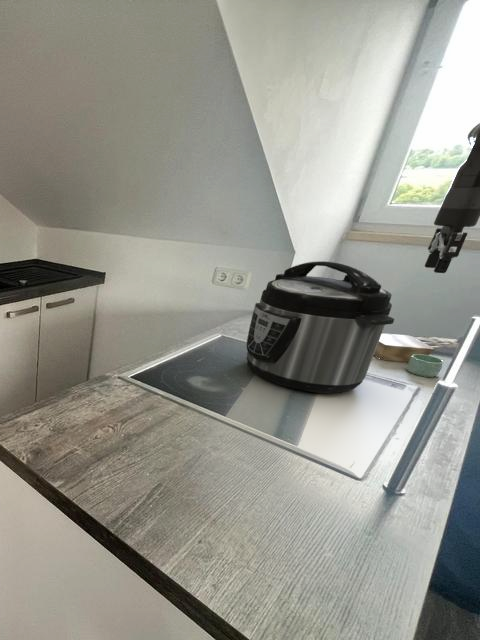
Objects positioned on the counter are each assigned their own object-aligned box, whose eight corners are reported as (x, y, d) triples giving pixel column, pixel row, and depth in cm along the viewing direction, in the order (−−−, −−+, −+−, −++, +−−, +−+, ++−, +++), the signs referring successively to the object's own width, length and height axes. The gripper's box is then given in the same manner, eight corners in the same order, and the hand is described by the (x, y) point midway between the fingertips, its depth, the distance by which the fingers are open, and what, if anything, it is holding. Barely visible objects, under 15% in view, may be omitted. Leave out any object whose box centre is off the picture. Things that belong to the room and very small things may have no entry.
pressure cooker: (236, 348, 129) (261, 251, 117) (343, 363, 118) (383, 256, 105) (241, 386, 105) (273, 269, 92) (377, 410, 93) (434, 278, 80)
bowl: (433, 371, 112) (440, 357, 110) (440, 379, 107) (447, 365, 105) (403, 366, 115) (409, 352, 113) (408, 374, 110) (415, 360, 108)
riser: (404, 349, 126) (411, 335, 124) (428, 364, 116) (435, 349, 114) (359, 346, 130) (365, 332, 128) (378, 360, 119) (385, 345, 117)
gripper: (495, 207, 92) (463, 276, 98) (472, 205, 103) (445, 267, 109) (450, 207, 96) (422, 273, 102) (433, 205, 107) (408, 264, 113)
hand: (434, 270), depth 106 cm, fingers open, 8 cm apart
